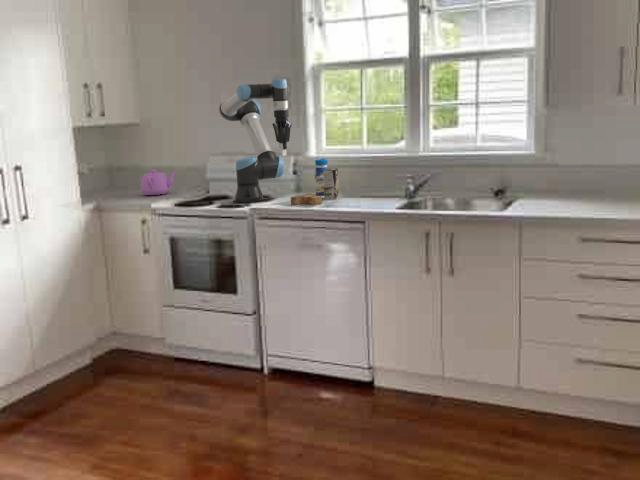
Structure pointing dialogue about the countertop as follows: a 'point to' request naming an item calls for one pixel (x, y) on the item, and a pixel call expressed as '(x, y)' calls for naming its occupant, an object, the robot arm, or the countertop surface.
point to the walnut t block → (306, 200)
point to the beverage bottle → (320, 175)
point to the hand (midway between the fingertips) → (283, 155)
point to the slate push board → (288, 203)
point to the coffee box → (331, 184)
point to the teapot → (156, 183)
